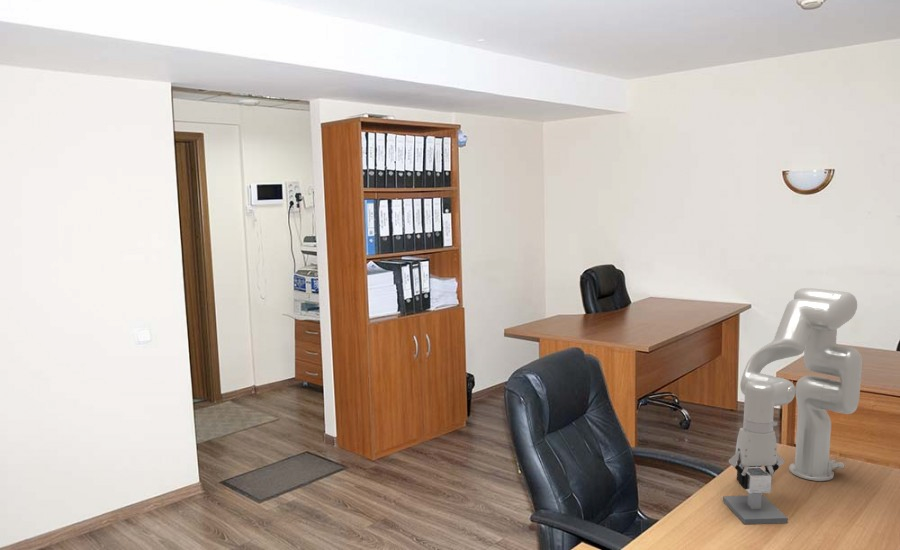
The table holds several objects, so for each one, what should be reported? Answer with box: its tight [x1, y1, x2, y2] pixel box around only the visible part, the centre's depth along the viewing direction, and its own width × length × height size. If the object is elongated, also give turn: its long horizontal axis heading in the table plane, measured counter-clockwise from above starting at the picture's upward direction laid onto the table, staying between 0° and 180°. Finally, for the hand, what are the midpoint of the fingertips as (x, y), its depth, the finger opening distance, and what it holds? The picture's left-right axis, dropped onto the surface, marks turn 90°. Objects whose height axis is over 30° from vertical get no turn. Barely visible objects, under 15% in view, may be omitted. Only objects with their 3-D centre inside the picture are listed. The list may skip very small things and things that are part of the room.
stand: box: [722, 491, 789, 525], centre depth 194 cm, size 12×14×6 cm
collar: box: [744, 466, 773, 494], centre depth 193 cm, size 6×6×5 cm
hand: (755, 486), depth 194 cm, fingers closed on collar, 5 cm apart
